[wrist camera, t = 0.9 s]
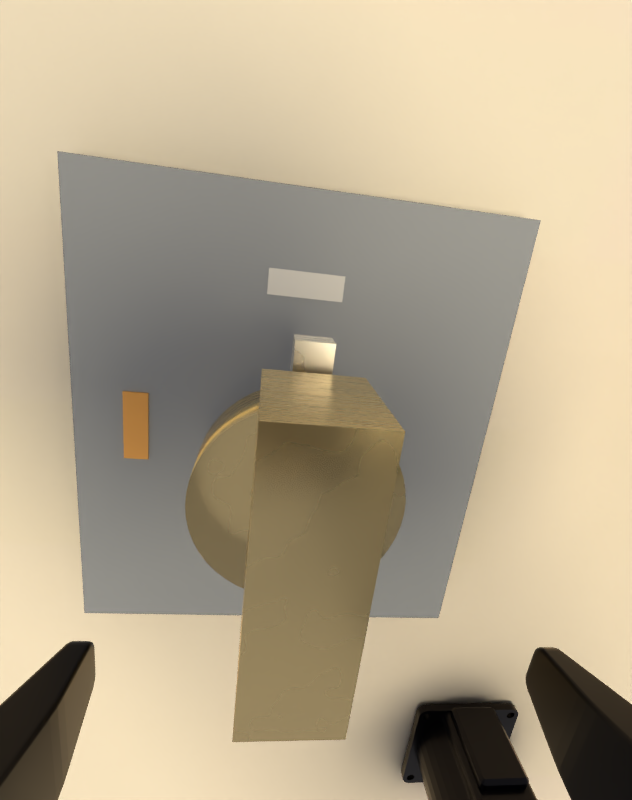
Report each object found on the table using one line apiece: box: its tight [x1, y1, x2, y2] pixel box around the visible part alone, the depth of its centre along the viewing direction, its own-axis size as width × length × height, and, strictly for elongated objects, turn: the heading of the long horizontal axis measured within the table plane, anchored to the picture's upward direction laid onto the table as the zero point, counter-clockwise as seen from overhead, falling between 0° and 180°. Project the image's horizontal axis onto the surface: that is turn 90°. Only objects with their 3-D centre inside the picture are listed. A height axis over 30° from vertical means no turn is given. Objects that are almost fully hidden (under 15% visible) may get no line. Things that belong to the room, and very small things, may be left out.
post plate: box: [57, 151, 541, 618], centre depth 19 cm, size 20×18×4 cm
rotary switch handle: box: [185, 334, 406, 742], centre depth 13 cm, size 10×7×6 cm
